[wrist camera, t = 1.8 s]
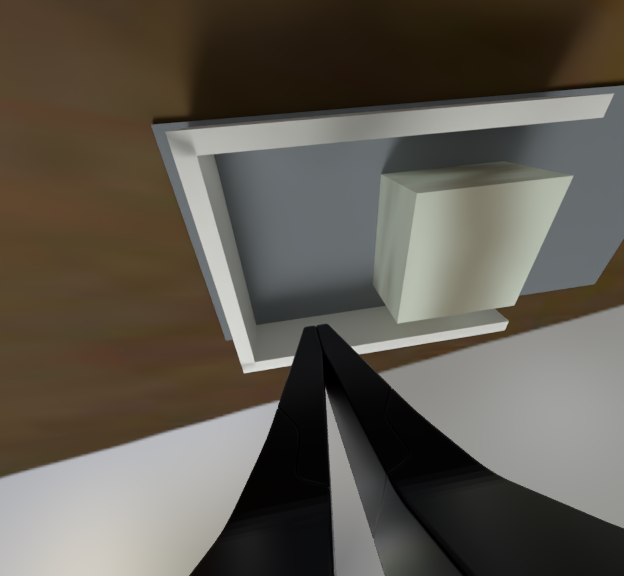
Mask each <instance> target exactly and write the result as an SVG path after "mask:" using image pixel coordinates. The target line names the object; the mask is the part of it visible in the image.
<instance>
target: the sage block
mask: <svg viewBox="0 0 624 576" xmlns="http://www.w3.org/2000/svg"><path fill="white" fill-rule="evenodd" d="M572 178H573V175H568V174H563V173H559V172H554V171H549V170H544V169H539V168H534V167H530V166H525V165H520V164H515V163H510V162H505V161H501V162H491V163H482V164H472V165H463V166H453V167H444V168H434V169H425V170H415V171H406V172H397V173H387V174H381V180H380V194H379V207H378V221H377V234H376V248H375V262H374V275H373V286H374V287H375V289H376V291H377V292H378V294H379V295H380V297H381V299H382V300H383V302H384V303H385V305H386V306H387V308H388V310H389V311H390V313H391V314H392V316H393V318H394V319H395V321H396V322H397V324H398V323H405V322H411V321H418V320H424V319H430V318H437V317H443V316H449V315H456V314H462V313H469V312H475V311H481V310H488V309H494V308H501V307H507V306H513V305H515V303H516V301H517V298H518V296H519V294H520V292H521V290H522V288H523V285H524V283H525V281H526V279H527V277H528V274H529V272H530V270H531V268H532V266H533V263H534V261H535V259H536V257H537V255H538V253H539V250H540V248H541V246H542V244H543V242H544V239H545V237H546V235H547V233H548V231H549V228H550V226H551V224H552V222H553V220H554V218H555V215H556V213H557V211H558V209H559V207H560V204H561V202H562V200H563V198H564V196H565V194H566V191H567V189H568V187H569V185H570V183H571V180H572Z"/></svg>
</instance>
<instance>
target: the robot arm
mask: <svg viewBox="0 0 624 576" xmlns="http://www.w3.org/2000/svg"><path fill="white" fill-rule="evenodd" d="M325 387H326V391H327V394H328V398H329V401H330V404H331V407H332V410H333V413H334V416H335V419H336V422H337V426H338V429H339V432H340V435H341V439H342V442H343V445H344V448H345V451H346V454H347V458H348V461H349V464H350V467H351V470H352V473H353V476H354V479H355V483H356V486H357V489H358V492H359V495H360V499H361V502H362V505H363V508H364V511H365V514H366V518H367V520H368V524H369V527H370V530H371V533H372V537H373V539H374V543H375V546H376V549H377V552H378V556H379V559H380V562H381V565H382V568H383V571H384V575H385V576H624V528H621V527H619V526H616V525H613V524H611V523H608V522H605V521H603V520H601V519H599V518H596V517H594V516H592V515H589V514H587V513H585V512H582V511H580V510H577V509H575V508H573V507H570V506H568V505H566V504H563V503H561V502H558V501H556V500H554V499H551V498H549V497H547V496H544V495H542V494H539V493H537V492H535V491H533V490H530V489H528V488H525V487H523V486H521V485H518V484H516V483H514V482H511V481H509V480H507V479H505V478H503V477H501V476H499V475H497V474H496V473H494V472H492V471H491V470H489V469H488V468H486V467H485V466H483V465H482V464H480V463H479V462H478V461H476V460H475V459H474V458H472V457H471V456H470V455H469V454H468V453H466V452H465V451H464V450H463V449H462V448H460V447H459V446H458V445H457V444H455V443H454V442H453V441H452V440H451V439H449V438H448V437H447V436H445V435H444V434H443V433H442V432H441V431H439V430H438V429H437V428H436V427H435V426H433V425H432V424H431V423H430V422H429V421H427V420H426V419H425V418H424V417H423V416H421V415H420V414H419V413H418V412H417V411H416V410H414V409H413V408H412V407H411V406H410V405H409V404H408V403H407V402H406V401H405V400H404V399H403V398H402V397H401V396H400V395H399V394H398V393H397V392H396V391H395V390H394V389H391V386H389V384H388V383H387V382H386V381H385V380H384V379H383V378H382V377H381V376H380V375H379V374H378V373H377V372H376V371H375V370H374V369H373V368H372V367H371V366H370V365H369V364H368V363H367V362H366V361H365V360H364V359H363V358H362V357H361V356H360V355H359V354H358V353H357V352H356V351H355V350H354V349H353V348H352V347H351V346H350V345H349V344H348V343H347V342H346V341H345V340H344V339H343V338H342V337H341V336H340V335H339V334H338V333H337V332H336V331H335V330H334V329H333V328H332V327H331V326H330V325H329V324H320V325H317V326H314V325H313V326H306V327H304V329H303V332H302V335H301V338H300V341H299V344H298V347H297V350H296V353H295V356H294V359H293V362H292V365H291V368H290V371H289V374H288V377H287V381H286V384H285V387H284V390H283V393H282V396H281V399H280V402H279V405H278V409H277V411H276V414H275V417H274V420H273V423H272V426H271V428H270V431H269V434H268V436H267V439H266V441H265V444H264V446H263V448H262V450H261V453H260V455H259V457H258V459H257V462H256V464H255V466H254V468H253V470H252V472H251V475H250V477H249V479H248V481H247V483H246V485H245V487H244V489H243V492H242V494H241V496H240V498H239V500H238V502H237V504H236V506H235V509H234V510H233V513H232V514H231V517H230V518H229V520H228V522H227V524H226V526H225V527H224V529H223V531H222V532H221V534H220V535H219V537H218V538H217V540H216V541H215V543H214V544H213V545H212V547H211V548H210V549H209V551H208V552H207V553H206V555H205V556H204V557H203V558H202V560H201V561H200V562H199V564H198V565H197V566H196V567H195V569H194V570H193V572H192V573H191V574H190V575H189V576H336V563H335V547H334V529H333V513H332V495H331V478H330V461H329V444H328V429H327V410H326V394H325Z"/></svg>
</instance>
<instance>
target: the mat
mask: <svg viewBox="0 0 624 576" xmlns="http://www.w3.org/2000/svg"><path fill="white" fill-rule="evenodd" d="M612 93H614V95H613V97H612V100H611V102H610V104H609V106H608V108H607V110H606V113H605V115H604V117H603V118H594V119H583V120H573V121H562V122H551V123H541V124H530V125H519V126H509V127H498V128H487V129H477V130H466V131H455V132H445V133H434V134H423V135H413V136H402V137H391V138H381V139H370V140H359V141H349V142H338V143H328V144H317V145H306V146H296V147H285V148H274V149H264V150H253V151H242V152H232V153H221V154H214V157H215V161H216V165H217V169H218V173H219V177H220V181H221V185H222V189H223V193H224V197H225V201H226V205H227V209H228V213H229V217H230V221H231V225H232V229H233V233H234V237H235V241H236V245H237V249H238V253H239V257H240V261H241V265H242V269H243V274H244V278H245V282H246V286H247V290H248V294H249V298H250V302H251V306H252V310H253V314H254V318H255V322H256V325H260V324H267V323H273V322H280V321H287V320H293V319H300V318H307V317H313V316H320V315H327V314H333V313H340V312H347V311H353V310H360V309H367V308H373V307H380V306H386V305H385V303H384V302H383V300H382V299H381V297H380V295H379V294H378V292H377V291H376V289H375V287H374V286H373V275H374V262H375V248H376V234H377V221H378V207H379V194H380V180H381V174H387V173H397V172H406V171H415V170H425V169H434V168H444V167H453V166H463V165H472V164H482V163H491V162H501V161H505V162H510V163H515V164H520V165H525V166H530V167H534V168H539V169H544V170H549V171H554V172H559V173H563V174H568V175H573V178H572V180H571V183H570V185H569V187H568V189H567V191H566V194H565V196H564V198H563V200H562V202H561V204H560V207H559V209H558V211H557V213H556V215H555V218H554V220H553V222H552V224H551V226H550V228H549V231H548V233H547V235H546V237H545V239H544V242H543V244H542V246H541V248H540V250H539V253H538V255H537V257H536V259H535V261H534V263H533V266H532V268H531V270H530V272H529V274H528V277H527V279H526V281H525V283H524V285H523V288H522V290H521V292H520V294H519V296H520V295H526V294H533V293H540V292H546V291H553V290H559V289H566V288H572V287H579V286H585V285H592V284H595V283H596V281H597V280H598V278H599V276H600V275H601V273H602V272H603V270H604V269H605V267H606V265H607V264H608V262H609V261H610V259H611V258H612V256H613V254H614V253H615V251H616V250H617V248H618V247H619V245H620V243H621V242H622V240H623V239H624V85H623V86H611V87H599V88H587V89H575V90H563V91H550V92H538V93H526V94H514V95H502V96H490V97H478V98H466V99H454V100H442V101H430V102H418V103H406V104H394V105H382V106H370V107H357V108H345V109H333V110H321V111H309V112H297V113H285V114H273V115H261V116H249V117H237V118H225V119H213V120H201V121H189V122H176V123H164V124H152V125H151V127H152V130H153V132H154V135H155V138H156V141H157V144H158V147H159V150H160V152H161V155H162V158H163V161H164V164H165V167H166V170H167V173H168V175H169V178H170V181H171V184H172V187H173V190H174V193H175V195H176V198H177V201H178V204H179V207H180V210H181V213H182V215H183V218H184V221H185V224H186V227H187V230H188V233H189V236H190V238H191V241H192V244H193V247H194V250H195V253H196V256H197V258H198V261H199V264H200V267H201V270H202V273H203V276H204V279H205V281H206V284H207V287H208V290H209V293H210V296H211V299H212V301H213V304H214V307H215V310H216V313H217V316H218V319H219V322H220V324H221V327H222V330H223V333H224V336H225V339H226V341H227V340H233V338H232V335H231V332H230V329H229V326H228V323H227V320H226V317H225V313H224V310H223V307H222V304H221V301H220V298H219V295H218V292H217V289H216V286H215V283H214V280H213V277H212V274H211V271H210V268H209V265H208V262H207V259H206V255H205V252H204V249H203V246H202V243H201V240H200V237H199V234H198V231H197V228H196V225H195V222H194V219H193V216H192V213H191V210H190V207H189V204H188V201H187V197H186V194H185V191H184V188H183V185H182V182H181V179H180V176H179V173H178V170H177V167H176V164H175V161H174V158H173V155H172V152H171V149H170V146H169V142H168V139H167V136H166V133H165V132H166V131H171V130H176V129H181V128H186V127H195V126H207V125H219V124H230V123H242V122H254V121H266V120H278V119H289V118H301V117H313V116H325V115H337V114H349V113H360V112H372V111H384V110H396V109H408V108H419V107H431V106H443V105H455V104H467V103H479V102H490V101H502V100H514V99H526V98H538V97H554V96H574V95H593V94H612Z"/></svg>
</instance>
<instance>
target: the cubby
mask: <svg viewBox="0 0 624 576" xmlns="http://www.w3.org/2000/svg"><path fill="white" fill-rule="evenodd" d="M613 95H614V93H612V94H593V95H574V96H554V97H538V98H526V99H514V100H502V101H490V102H479V103H467V104H455V105H443V106H431V107H419V108H408V109H396V110H384V111H372V112H360V113H349V114H337V115H325V116H313V117H301V118H289V119H278V120H266V121H254V122H242V123H230V124H219V125H207V126H195V127H186V128H181V129H176V130H171V131H166V132H165V133H166V136H167V139H168V142H169V146H170V149H171V152H172V155H173V158H174V161H175V164H176V167H177V170H178V173H179V176H180V179H181V182H182V185H183V188H184V191H185V194H186V197H187V201H188V204H189V207H190V210H191V213H192V216H193V219H194V222H195V225H196V228H197V231H198V234H199V237H200V240H201V243H202V246H203V249H204V252H205V255H206V259H207V262H208V265H209V268H210V271H211V274H212V277H213V280H214V283H215V286H216V289H217V292H218V295H219V298H220V301H221V304H222V307H223V310H224V313H225V317H226V320H227V323H228V326H229V329H230V332H231V335H232V338H233V341H234V344H235V347H236V350H237V353H238V356H239V359H240V362H241V365H242V368H243V372H244V373H249V372H255V371H261V370H267V369H273V368H279V367H285V366H291V365H292V362H293V359H294V356H295V353H296V350H297V347H298V344H299V341H300V338H301V335H302V332H303V329H304V327H306V326H313V325H314V326H317V325H320V324H329V325H330V326H331V327H332V328H333V329H334V330H335V331H336V332H337V333H338V334H339V335H340V336H341V337H342V338H343V339H344V340H345V341H346V342H347V343H348V344H349V345H350V346H351V347H352V348H353V349H354V350H355V351H356V352H357V353H358V354H364V353H370V352H376V351H382V350H388V349H394V348H400V347H406V346H413V345H419V344H425V343H431V342H437V341H443V340H449V339H455V338H461V337H467V336H473V335H479V334H485V333H491V332H498V331H504V330H505V329H506V327H507V324H508V322H509V321H508V320H507V319H506V318H505V317H504V316H502V315H501V314H500V313H499V312H498V311H497V310H495V309H488V310H481V311H475V312H469V313H462V314H456V315H449V316H443V317H437V318H430V319H424V320H418V321H411V322H405V323H398V324H397V322H396V321H395V319H394V318H393V316H392V314H391V313H390V311H389V310H388V308H387V306H380V307H373V308H367V309H360V310H353V311H347V312H340V313H333V314H327V315H320V316H313V317H307V318H300V319H293V320H287V321H280V322H273V323H267V324H260V325H256V322H255V318H254V314H253V310H252V306H251V302H250V298H249V294H248V290H247V286H246V282H245V278H244V274H243V269H242V265H241V261H240V257H239V253H238V249H237V245H236V241H235V237H234V233H233V229H232V225H231V221H230V217H229V213H228V209H227V205H226V201H225V197H224V193H223V189H222V185H221V181H220V177H219V173H218V169H217V165H216V161H215V157H214V154H221V153H232V152H242V151H253V150H264V149H274V148H285V147H296V146H306V145H317V144H328V143H338V142H349V141H359V140H370V139H381V138H391V137H402V136H413V135H423V134H434V133H445V132H455V131H466V130H477V129H487V128H498V127H509V126H519V125H530V124H541V123H551V122H562V121H573V120H583V119H594V118H603V117H604V115H605V113H606V110H607V108H608V106H609V104H610V102H611V100H612V97H613Z"/></svg>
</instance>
